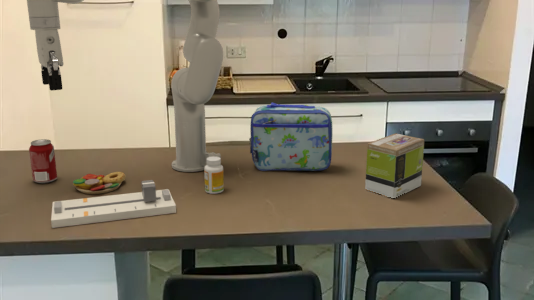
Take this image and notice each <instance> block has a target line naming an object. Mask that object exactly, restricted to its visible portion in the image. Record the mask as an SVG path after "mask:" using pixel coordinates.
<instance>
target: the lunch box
mask: <svg viewBox="0 0 534 300" xmlns="http://www.w3.org/2000/svg"><path fill="white" fill-rule="evenodd" d="M249 125H250V137H249V154H251V159H252V162H253V164H254V167H256V169H257V170H259V171H263V172H266V171H297V172H298V171H301V172H302V171H303V172H304V171H305V172H306V171H311V172H313V171H325V170H327V169H329V167H330V166H331V163H332V155H333V154H332V153H333V119H332V114H331V112H330V110H329V109H327V108H326V107H324V106H322V105H321V106H320V105H313V104H282V103H281V104H278V103H276V102H271V103H270V104H264V105H263V104H262V105H260V106H258V107H257V108H256V109H255V111H254V112H253V113H252V114H251V118H250V124H249Z"/></svg>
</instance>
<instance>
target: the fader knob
mask: <svg viewBox="0 0 534 300" xmlns="http://www.w3.org/2000/svg"><path fill="white" fill-rule="evenodd" d="M140 183H141V192H142V196H143V199H144V202H149V201H156V190H157V189H156V183H155V182H154V179H150V180H149V179H147V180H141V182H140Z"/></svg>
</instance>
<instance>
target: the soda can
mask: <svg viewBox="0 0 534 300" xmlns="http://www.w3.org/2000/svg"><path fill="white" fill-rule="evenodd" d="M28 152H29V160H30V167H31V176H32V181H33V182H35V183H38V184H49V183H52V182H54V181H55V180H57V179H58V172H57V171H58V169H57V162H56V154H55V147H54V145H53V144H52V140H50V139H47V138H46V139H45V138H44V139H35V140H32V141H31V142H30V146H29V147H28Z"/></svg>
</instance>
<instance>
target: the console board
mask: <svg viewBox="0 0 534 300" xmlns="http://www.w3.org/2000/svg"><path fill="white" fill-rule="evenodd" d="M51 207H52V208H51V217H50V222H51V224H50V225H51V229H54V228H63V227H71V226H78V225H79V226H80V225H88V224H94V223H95V224H96V223H103V222H111V221H119V220H120V221H121V220H127V219H135V218H145V217H151V216H161V215H168V214H169V215H170V214H176V213H177V204H176V202H175V200H174V199H173V197H172V194H171V192H170V189H168V188H166V189H156V201H149V202H144V199H143V196H142V191H140V192H139V191H138V192H129V193H122V194H112V195H102V196H93V197H85V198H75V199H67V200H66V199H65V200H57V201H52V204H51Z"/></svg>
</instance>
